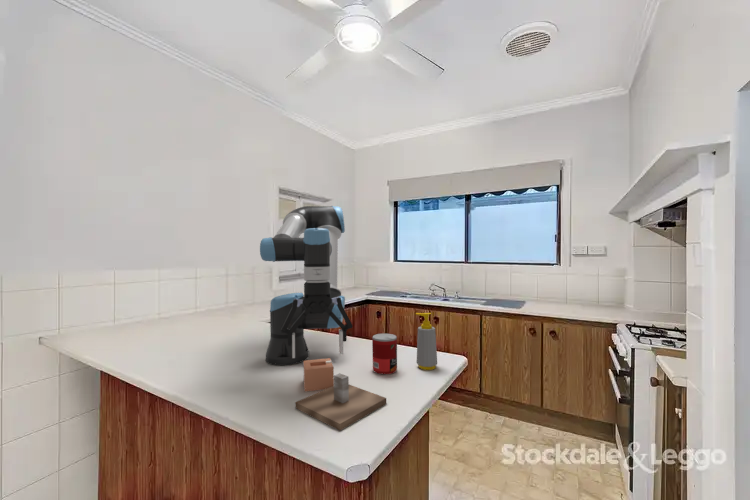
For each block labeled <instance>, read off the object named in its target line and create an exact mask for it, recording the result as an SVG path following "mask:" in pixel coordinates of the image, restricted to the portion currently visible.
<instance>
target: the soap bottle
mask: <svg viewBox="0 0 750 500" xmlns="http://www.w3.org/2000/svg"><path fill="white" fill-rule="evenodd" d="M431 314H432V313H431V312H422V313H421V312H416V313H415V315H417V316H421V317H423V318H424V320H423V321H422V324H420V326H418V328H417V337H416V339H417V341H416V343H417V344H416V364H417V366H418V368H419V369H420V370H424V371H432V370H434V369H436V366H437V365H438V353H437V334H436V328H435V327H434V326H432V325H433V324H431V321H430V320H429V317H430V316H429V315H431Z"/></svg>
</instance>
